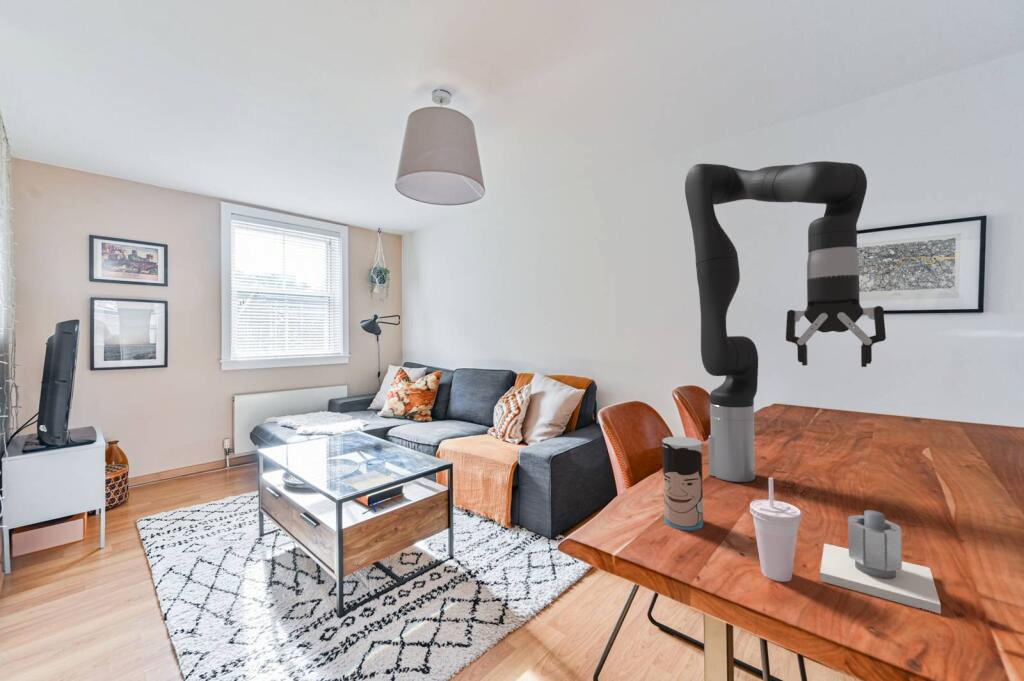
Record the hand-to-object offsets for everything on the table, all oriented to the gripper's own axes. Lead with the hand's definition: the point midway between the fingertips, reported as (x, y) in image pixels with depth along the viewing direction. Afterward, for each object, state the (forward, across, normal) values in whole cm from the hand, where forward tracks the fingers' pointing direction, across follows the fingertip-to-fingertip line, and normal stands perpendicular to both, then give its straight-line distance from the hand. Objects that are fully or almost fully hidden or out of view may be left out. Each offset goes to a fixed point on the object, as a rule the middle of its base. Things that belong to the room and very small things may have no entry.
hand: (833, 365), depth 78 cm
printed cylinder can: (+28, -22, -16) cm, 39 cm away
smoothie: (+28, -6, -26) cm, 39 cm away
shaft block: (+28, +5, -19) cm, 34 cm away
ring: (+25, +5, -19) cm, 32 cm away
